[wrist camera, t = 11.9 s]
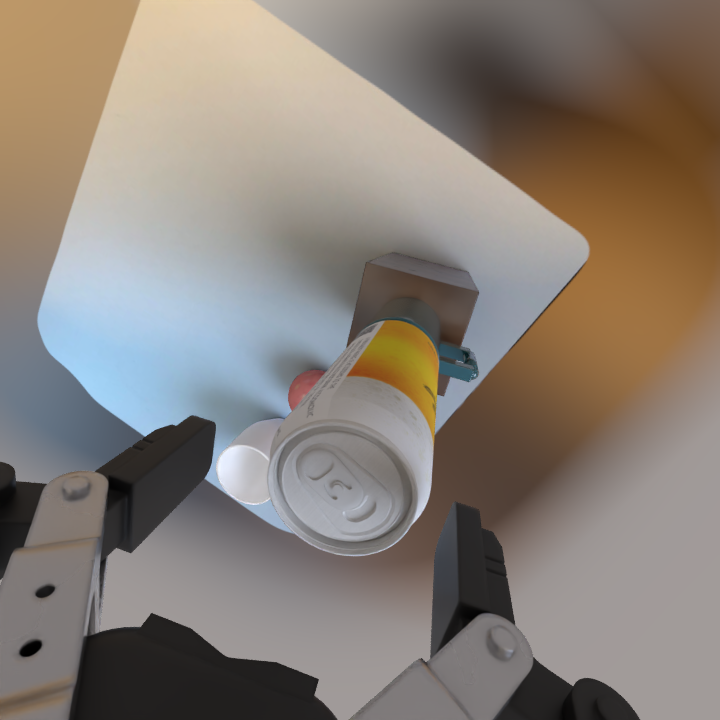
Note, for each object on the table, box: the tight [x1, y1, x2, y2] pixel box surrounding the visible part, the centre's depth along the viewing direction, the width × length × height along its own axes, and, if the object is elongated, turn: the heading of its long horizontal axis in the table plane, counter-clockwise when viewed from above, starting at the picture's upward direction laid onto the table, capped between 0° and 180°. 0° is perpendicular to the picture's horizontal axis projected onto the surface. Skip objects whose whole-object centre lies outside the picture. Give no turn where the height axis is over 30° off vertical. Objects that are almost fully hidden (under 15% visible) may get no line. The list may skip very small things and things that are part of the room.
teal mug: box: [357, 297, 479, 382], centre depth 32 cm, size 6×9×9 cm
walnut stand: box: [346, 253, 479, 396], centre depth 45 cm, size 10×10×18 cm
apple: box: [288, 370, 326, 411], centre depth 56 cm, size 7×7×8 cm
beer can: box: [267, 320, 439, 556], centre depth 21 cm, size 6×6×15 cm
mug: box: [216, 418, 285, 505], centre depth 58 cm, size 12×9×12 cm
